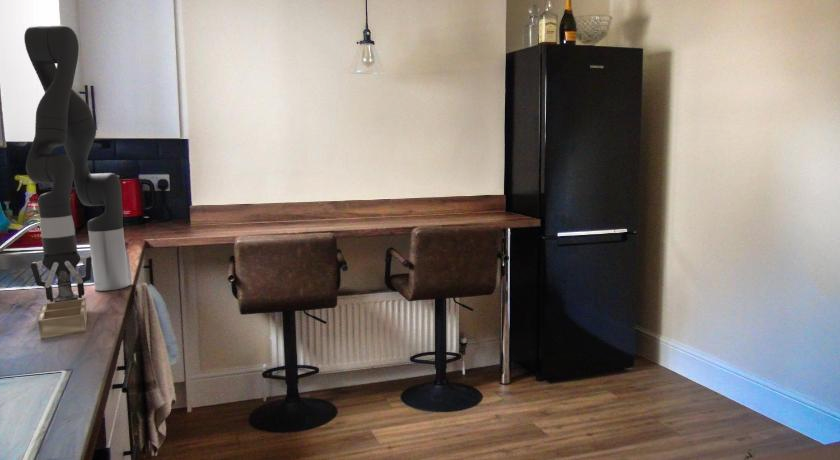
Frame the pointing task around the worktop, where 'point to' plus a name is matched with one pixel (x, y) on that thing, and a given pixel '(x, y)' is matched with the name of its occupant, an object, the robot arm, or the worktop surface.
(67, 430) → the worktop surface
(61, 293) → the grey stone statue
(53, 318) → the caddy
